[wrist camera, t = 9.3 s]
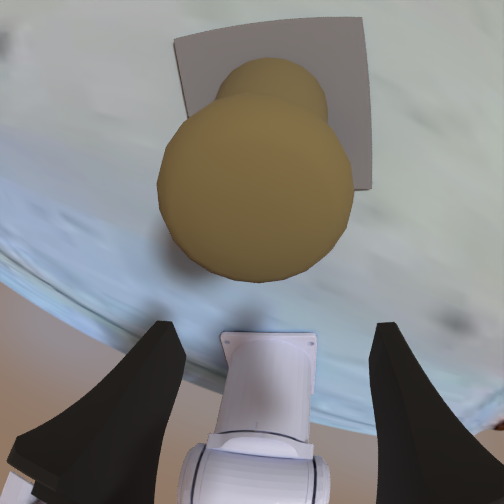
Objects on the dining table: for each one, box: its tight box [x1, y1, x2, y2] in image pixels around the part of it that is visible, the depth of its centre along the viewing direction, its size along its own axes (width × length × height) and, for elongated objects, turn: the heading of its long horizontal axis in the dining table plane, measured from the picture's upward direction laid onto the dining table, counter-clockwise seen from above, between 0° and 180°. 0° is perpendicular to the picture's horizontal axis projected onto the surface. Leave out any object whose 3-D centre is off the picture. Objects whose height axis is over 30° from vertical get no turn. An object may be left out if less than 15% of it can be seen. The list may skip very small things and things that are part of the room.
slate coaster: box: [174, 17, 372, 189], centre depth 16 cm, size 10×10×1 cm
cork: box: [157, 57, 354, 283], centre depth 11 cm, size 6×6×11 cm
